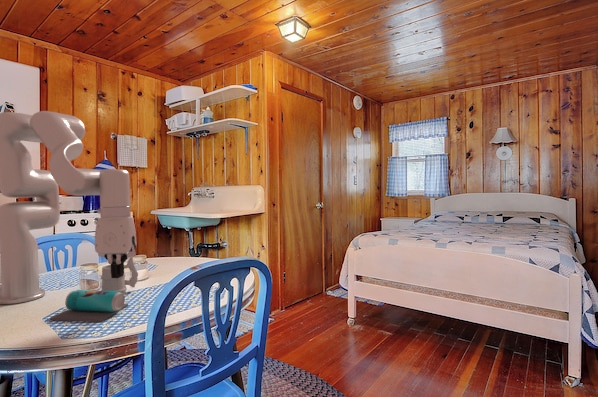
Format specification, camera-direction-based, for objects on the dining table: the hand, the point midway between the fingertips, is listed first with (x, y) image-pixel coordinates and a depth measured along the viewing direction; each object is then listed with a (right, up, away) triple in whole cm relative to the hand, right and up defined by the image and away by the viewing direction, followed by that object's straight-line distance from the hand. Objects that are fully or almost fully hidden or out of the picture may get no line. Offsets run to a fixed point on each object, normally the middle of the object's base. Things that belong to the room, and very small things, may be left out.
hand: (117, 276), depth 96 cm
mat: (-8, -11, +1) cm, 14 cm away
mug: (-9, -10, +18) cm, 23 cm away
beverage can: (+1, -7, 0) cm, 7 cm away
